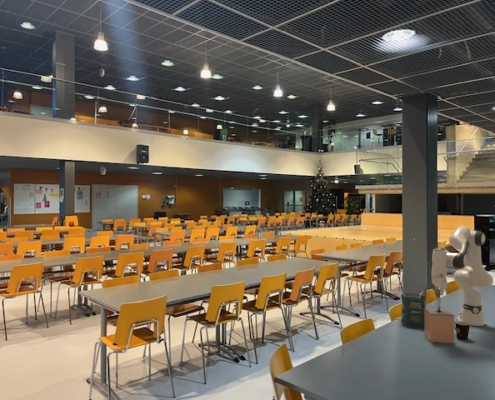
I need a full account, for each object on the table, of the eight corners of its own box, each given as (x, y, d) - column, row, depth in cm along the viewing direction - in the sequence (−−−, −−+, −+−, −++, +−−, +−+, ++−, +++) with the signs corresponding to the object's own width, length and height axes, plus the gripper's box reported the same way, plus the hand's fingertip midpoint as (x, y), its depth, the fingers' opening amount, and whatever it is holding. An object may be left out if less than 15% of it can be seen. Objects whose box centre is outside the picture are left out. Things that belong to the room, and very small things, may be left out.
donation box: (424, 328, 273) (424, 288, 273) (400, 324, 281) (400, 286, 281) (426, 322, 287) (426, 285, 287) (403, 319, 295) (403, 282, 295)
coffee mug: (471, 341, 248) (471, 325, 248) (457, 339, 249) (457, 324, 250) (465, 335, 259) (465, 320, 259) (451, 334, 261) (451, 319, 261)
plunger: (428, 313, 257) (428, 287, 257) (444, 314, 255) (444, 288, 256) (433, 318, 247) (433, 291, 248) (449, 319, 245) (449, 292, 246)
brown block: (424, 334, 259) (424, 307, 260) (446, 336, 257) (446, 309, 257) (430, 341, 245) (430, 313, 246) (453, 343, 243) (454, 314, 243)
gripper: (449, 275, 241) (449, 297, 241) (439, 270, 261) (439, 290, 261) (439, 275, 242) (438, 296, 242) (429, 269, 262) (429, 290, 262)
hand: (439, 293), depth 252 cm, fingers open, 8 cm apart
